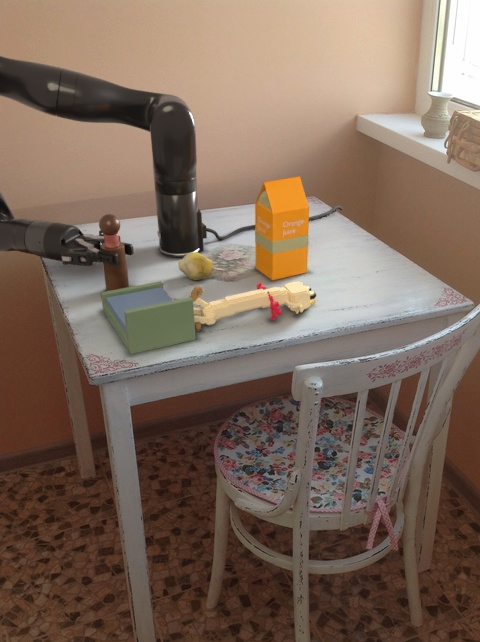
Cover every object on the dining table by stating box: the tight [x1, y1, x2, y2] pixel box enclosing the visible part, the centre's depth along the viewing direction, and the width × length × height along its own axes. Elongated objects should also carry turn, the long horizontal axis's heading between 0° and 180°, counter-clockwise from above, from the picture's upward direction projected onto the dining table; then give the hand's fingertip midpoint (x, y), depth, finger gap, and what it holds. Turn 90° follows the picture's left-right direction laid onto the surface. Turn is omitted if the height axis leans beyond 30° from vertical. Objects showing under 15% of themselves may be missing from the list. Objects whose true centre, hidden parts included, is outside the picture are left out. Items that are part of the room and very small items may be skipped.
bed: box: [100, 281, 197, 355], centre depth 129 cm, size 12×18×8 cm, turn 27°
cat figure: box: [189, 280, 319, 332], centre depth 132 cm, size 10×9×25 cm
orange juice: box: [254, 175, 310, 281], centre depth 148 cm, size 8×9×20 cm
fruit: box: [177, 252, 225, 281], centre depth 148 cm, size 6×6×10 cm
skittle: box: [98, 213, 130, 291], centre depth 138 cm, size 5×5×16 cm
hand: (124, 254), depth 137 cm, fingers closed on skittle, 4 cm apart
